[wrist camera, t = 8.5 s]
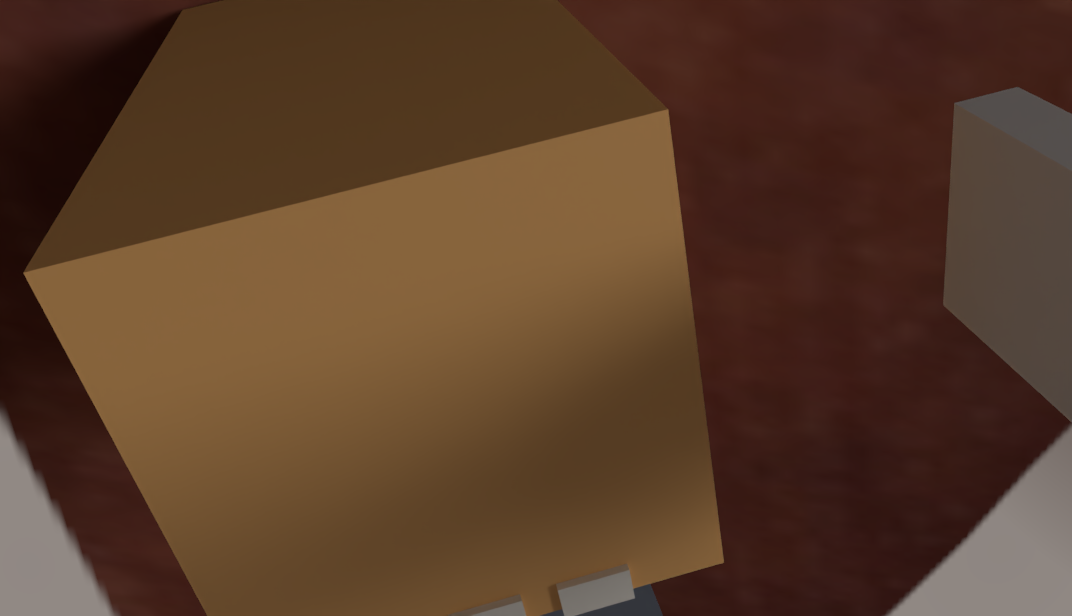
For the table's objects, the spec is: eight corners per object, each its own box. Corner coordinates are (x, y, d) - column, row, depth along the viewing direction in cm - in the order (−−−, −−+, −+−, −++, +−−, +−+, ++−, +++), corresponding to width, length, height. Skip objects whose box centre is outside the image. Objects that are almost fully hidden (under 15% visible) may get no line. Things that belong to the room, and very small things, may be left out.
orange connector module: (548, 216, 21) (727, 571, 12) (286, 284, 21) (252, 708, 11) (492, -64, 18) (671, 112, 9) (182, 9, 18) (19, 278, 8)
